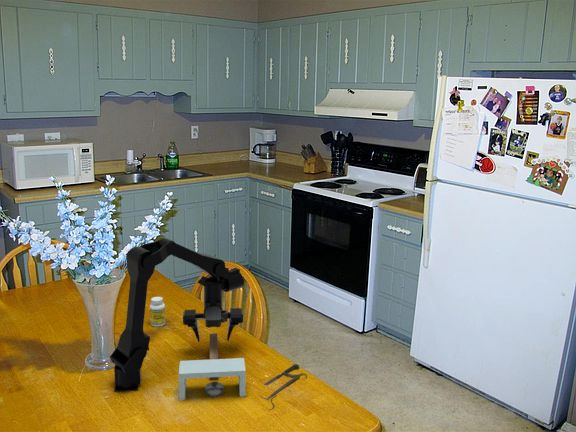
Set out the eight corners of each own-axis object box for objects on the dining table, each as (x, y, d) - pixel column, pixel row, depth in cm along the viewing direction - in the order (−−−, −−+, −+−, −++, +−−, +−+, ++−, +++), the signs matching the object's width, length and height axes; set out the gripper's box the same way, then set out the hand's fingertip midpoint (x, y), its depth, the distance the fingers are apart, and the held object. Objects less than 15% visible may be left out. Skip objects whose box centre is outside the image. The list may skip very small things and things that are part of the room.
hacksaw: (295, 366, 169) (295, 361, 169) (322, 377, 163) (322, 373, 163) (240, 399, 151) (240, 394, 151) (268, 413, 145) (268, 408, 145)
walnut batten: (209, 381, 159) (209, 365, 158) (209, 347, 179) (209, 333, 178) (218, 380, 160) (218, 365, 159) (217, 347, 180) (217, 333, 178)
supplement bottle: (163, 319, 198) (162, 294, 196) (167, 325, 194) (166, 300, 191) (148, 322, 196) (147, 297, 194) (152, 328, 191) (151, 302, 189)
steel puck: (205, 398, 151) (205, 392, 150) (205, 388, 155) (205, 382, 155) (223, 397, 151) (223, 391, 151) (223, 387, 156) (223, 381, 156)
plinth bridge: (179, 400, 149) (178, 373, 147) (180, 386, 156) (180, 360, 154) (245, 396, 152) (245, 370, 150) (243, 383, 158) (243, 358, 156)
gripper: (181, 306, 162) (182, 354, 166) (244, 304, 165) (244, 351, 168) (183, 292, 173) (184, 337, 177) (242, 290, 175) (242, 335, 179)
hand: (213, 340), depth 175 cm, fingers open, 9 cm apart
